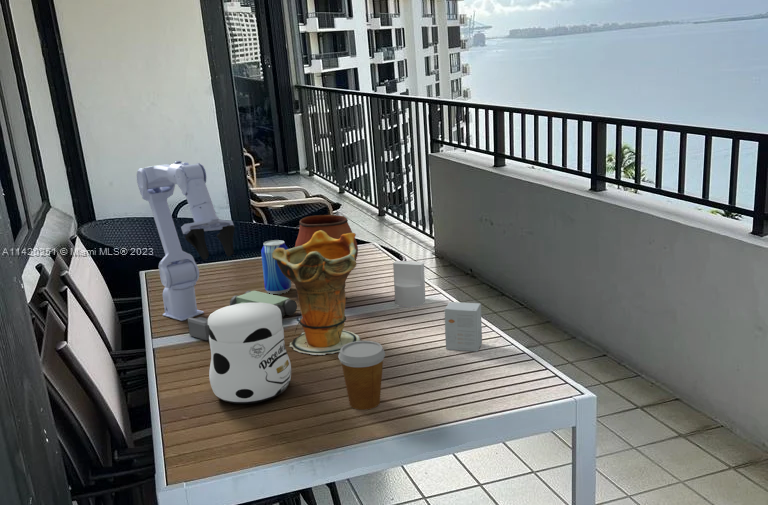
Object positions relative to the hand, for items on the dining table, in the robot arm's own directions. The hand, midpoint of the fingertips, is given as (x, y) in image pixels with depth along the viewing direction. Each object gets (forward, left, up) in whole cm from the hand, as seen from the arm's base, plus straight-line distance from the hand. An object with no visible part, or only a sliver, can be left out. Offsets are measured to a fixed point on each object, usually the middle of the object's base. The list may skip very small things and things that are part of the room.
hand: (218, 256), depth 173 cm
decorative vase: (+22, +13, -23) cm, 35 cm away
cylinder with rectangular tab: (+23, +49, -23) cm, 59 cm away
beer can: (-20, +37, -23) cm, 48 cm away
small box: (+54, +28, -23) cm, 65 cm away
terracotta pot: (0, +39, -23) cm, 45 cm away
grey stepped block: (-9, +1, -23) cm, 24 cm away
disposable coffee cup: (+52, -8, -23) cm, 58 cm away
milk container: (+28, -17, -23) cm, 40 cm away
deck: (-9, +19, -23) cm, 31 cm away
